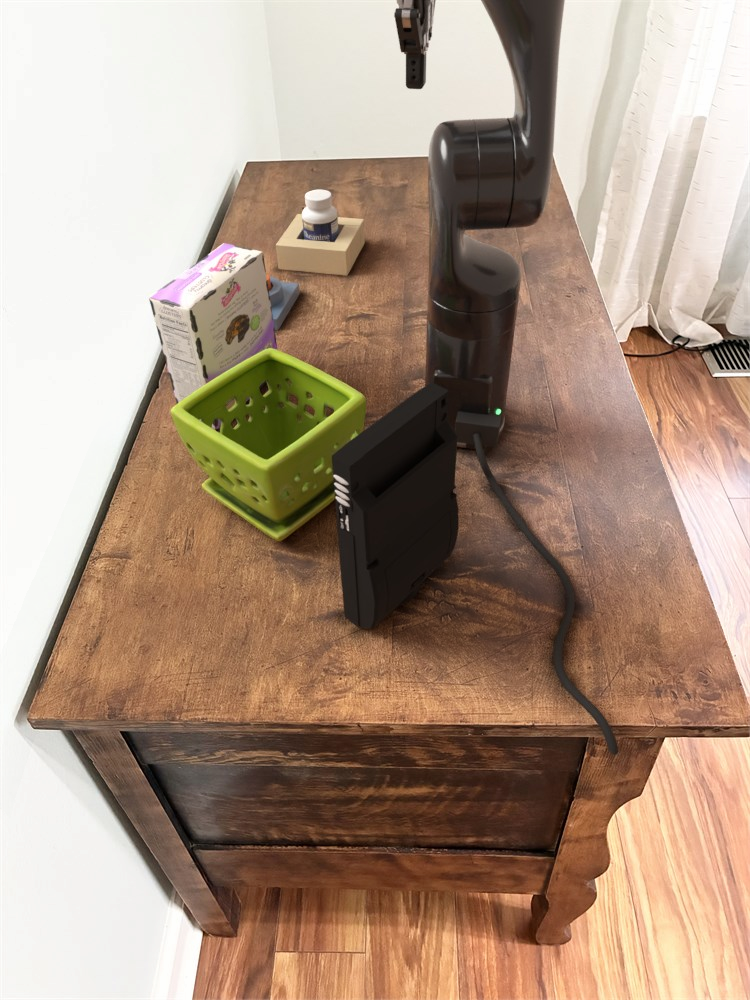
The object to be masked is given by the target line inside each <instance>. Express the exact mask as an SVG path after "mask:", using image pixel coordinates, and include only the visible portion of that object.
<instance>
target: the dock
mask: <svg viewBox="0 0 750 1000" xmlns="http://www.w3.org/2000/svg"><path fill="white" fill-rule="evenodd" d="M338 233H339V235H338V237H337V239H336V241H335V242H325V241H314V240H304V231H303V221H302V213H297V214H296V215H295V217H294V218H293V220H292V221H291V223H290V224H289V226H288V227H287V228H286V230H284V232H283V234H282V235H281V237H280V238H279V240H278V241H277V242H276V244H275V251H276V258H277V266H278V270H282V271H283V270H284V271H293V272H304V273H317V274H327V275H337V276H348V275H349V273H350V271H351V270H352V268H353V266H354V264H355V263H356V260H357V258H358V256H359V254H360V253H361V251H362V249H363V248H364V245H365V243H366V241H365V240H366V239H365V238H366V237H365V235H366V234H365V219H364V218H356V217H355V218H354V217H342V216H338Z"/></svg>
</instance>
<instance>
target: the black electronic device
mask: <svg viewBox="0 0 750 1000" xmlns="http://www.w3.org/2000/svg"><path fill="white" fill-rule="evenodd" d="M448 395H449V390H447V389H445V388H443V387H441V386H439V385H437V384H435V383H433V382H431V383H429V384H428V385H426V386H425V385H424V386H423V387H421V388H420V389H419V390H417V391H416V392H414V393H413V394H411V395H410V396H409V397H407V398H406V399H405V400H403V401H402V402H401V403H399V404H398V405H396V406H395V407H394V408H392V409H391V410H390V411H389V412H387V413H385V414H384V415H383V416H382V417H380V418H379V419H378V420H376V421H375V422H373V423H372V424H371V425H369V426H368V427H366V429H363V432H361V433H360V434H359V435H357V436H356V437H355V438H353V439H352V440H351V441H349V442H348V443H347V444H345V445H344V446H343V447H342V448H340V449H339V450H338V451H337V452H336V453H334V454H333V455H332V467H333V480H334V492H335V500H334V503H335V516H336V526H337V527H336V528H337V529H336V530H337V538H338V552H339V565H340V566H339V568H340V582H341V590H342V593H341V594H342V602H343V613H344V619H347V620H348V621H349V622H350V623H352V624H353V625H355V626H356V627H357V628H362V629H363V630H373V629H374V630H375V628H377V626H378V625H380V623H382V621H384V620H385V618H387V616H389V615H390V614H391V613H392V612H393V611H394V610H395V609H396V608H398V607H400V606H402V605H404V604H406V603H408V602H410V601H411V600H412V599H414V598H415V597H416V595H417V594H418V593H419V590H420V588H421V586H422V585H423V583H424V581H425V580H426V579H427V578H428V577H429V576H430V575H432V573H434V571H436V570H437V569H438V568H439V567H440V566H441V565H442V564H443V563H445V562H446V560H447V559H448V558H449V557H451V555H452V553H453V551H454V549H455V548H456V547H455V546H456V543H457V539H458V534H459V528H460V524H459V521H460V520H459V518H460V517H459V505H458V499H457V496H458V494H457V493H456V492H455V489H456V488H457V487H456V485H455V484H456V483H455V481H456V468H457V467H456V465H457V452H458V451H457V450H458V447H457V434H456V433H455V432H454V430H453V429H452V428H451V426H450V425H449V424H448V422H447V421H446V420H447V409H448V403H447V399H448Z"/></svg>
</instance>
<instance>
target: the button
mask: <svg viewBox="0 0 750 1000" xmlns="http://www.w3.org/2000/svg"><path fill="white" fill-rule="evenodd" d="M266 276H267V282H268V289H269V290H271V281H270V276H271V275H269V273H267V272H266Z"/></svg>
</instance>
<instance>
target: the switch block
mask: <svg viewBox="0 0 750 1000" xmlns="http://www.w3.org/2000/svg"><path fill="white" fill-rule="evenodd" d="M269 276H270V281H271V290H269V295H270V302H271V309H272V315H273V322H274V329H275V331H278V330H280V328H281V326H282V325H283V322H284V321H285V319H286V317H287V316H288V315H289V313H290V311H291V309H292V308H293V307H294V304H295V303H296V301H297V299H298V298H299V296H300V295H301V291H300V283H297V282H286V281H280V279H278V278H276V277H274V276H271V275H269Z"/></svg>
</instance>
